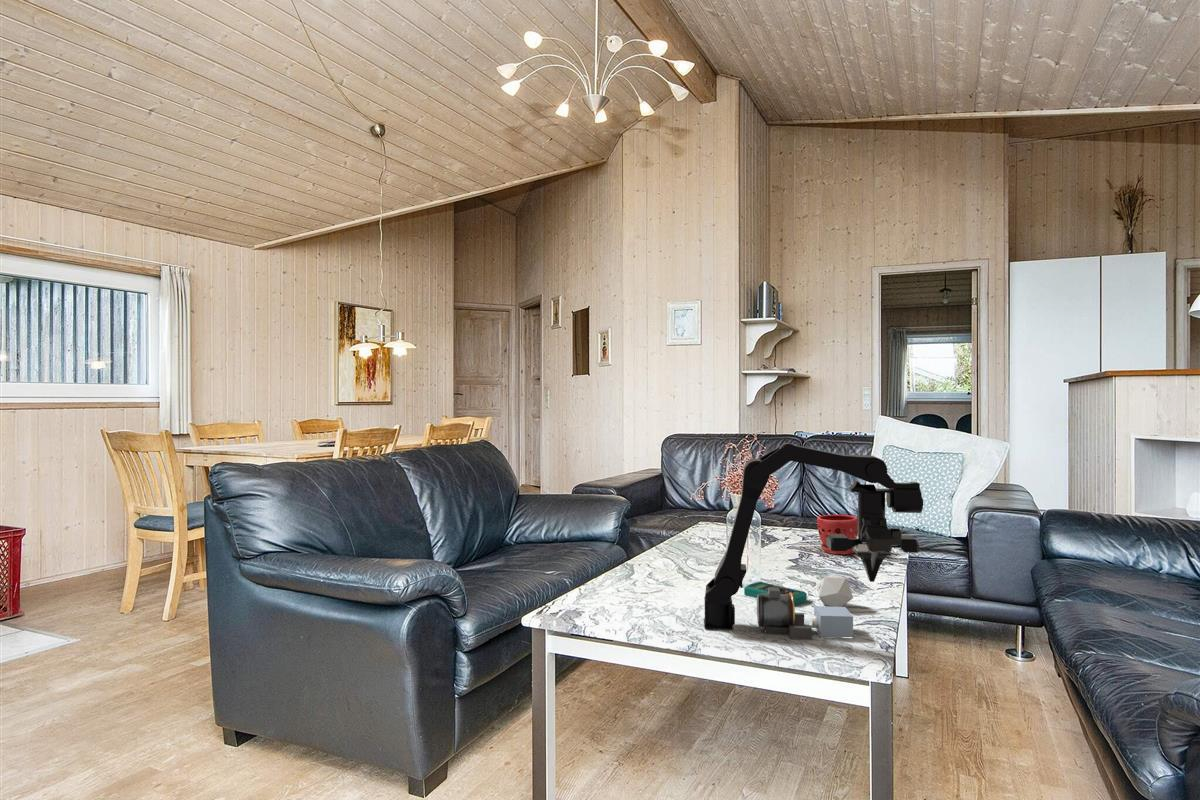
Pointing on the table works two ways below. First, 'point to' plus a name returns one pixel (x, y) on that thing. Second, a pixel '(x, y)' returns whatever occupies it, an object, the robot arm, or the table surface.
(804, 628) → the clip bracket
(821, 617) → the blue-gray block
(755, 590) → the digital multimeter
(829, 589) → the die
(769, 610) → the cylinder
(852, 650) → the table surface
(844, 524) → the plant pot
